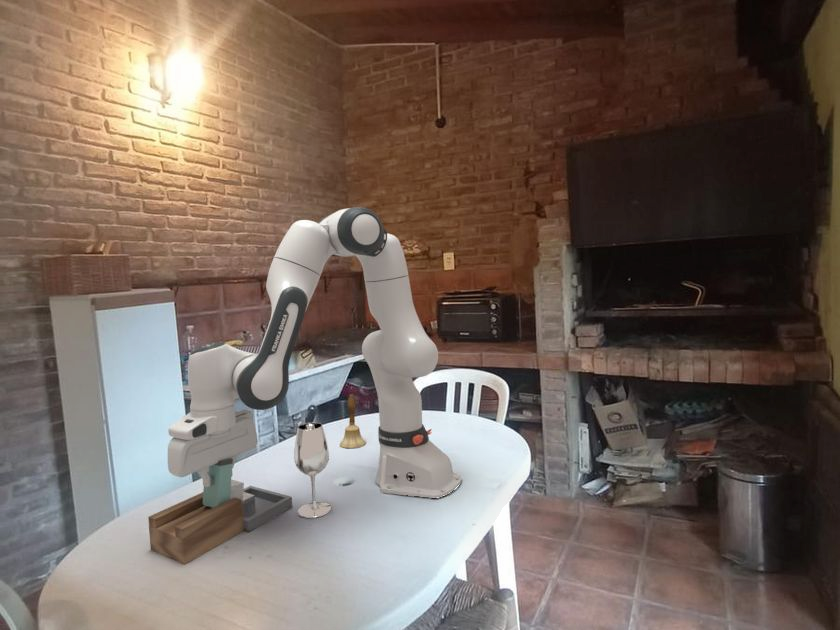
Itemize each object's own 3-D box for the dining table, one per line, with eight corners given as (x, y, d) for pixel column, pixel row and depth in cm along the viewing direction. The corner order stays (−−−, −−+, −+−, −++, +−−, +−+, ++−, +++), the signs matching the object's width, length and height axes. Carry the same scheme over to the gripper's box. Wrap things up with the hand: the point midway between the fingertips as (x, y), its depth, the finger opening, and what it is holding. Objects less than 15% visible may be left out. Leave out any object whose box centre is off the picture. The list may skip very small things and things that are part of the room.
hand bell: (352, 438, 168) (350, 390, 167) (371, 442, 164) (369, 393, 162) (334, 445, 162) (331, 396, 160) (353, 450, 157) (351, 399, 155)
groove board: (243, 530, 110) (241, 499, 109) (185, 564, 98) (182, 529, 97) (210, 519, 116) (208, 489, 115) (150, 549, 104) (147, 516, 103)
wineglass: (302, 522, 113) (297, 433, 111) (293, 508, 120) (288, 424, 118) (336, 513, 117) (331, 427, 115) (326, 500, 123) (321, 419, 122)
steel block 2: (241, 519, 114) (255, 511, 117) (240, 502, 113) (254, 495, 117) (229, 515, 116) (243, 508, 119) (228, 498, 116) (242, 491, 119)
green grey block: (202, 504, 110) (205, 457, 111) (214, 500, 113) (217, 455, 113) (217, 509, 108) (220, 461, 108) (229, 505, 110) (232, 458, 111)
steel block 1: (242, 501, 114) (243, 482, 114) (227, 505, 111) (228, 486, 111) (230, 497, 116) (231, 479, 116) (215, 501, 113) (216, 483, 113)
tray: (292, 506, 120) (291, 496, 120) (248, 532, 109) (247, 521, 109) (251, 495, 127) (250, 485, 127) (205, 518, 116) (205, 507, 116)
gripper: (242, 405, 120) (246, 462, 121) (160, 430, 102) (165, 497, 104) (261, 408, 117) (265, 467, 118) (180, 434, 99) (185, 503, 100)
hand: (218, 481), depth 111 cm, fingers closed on green grey block, 3 cm apart
